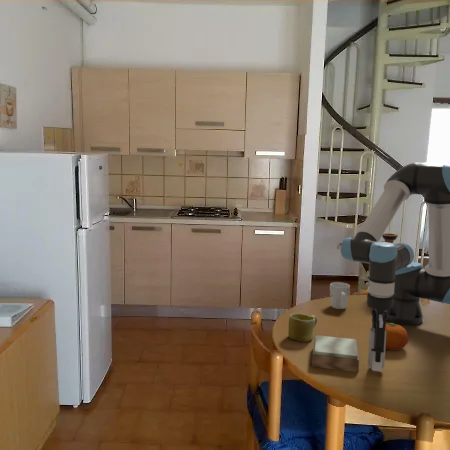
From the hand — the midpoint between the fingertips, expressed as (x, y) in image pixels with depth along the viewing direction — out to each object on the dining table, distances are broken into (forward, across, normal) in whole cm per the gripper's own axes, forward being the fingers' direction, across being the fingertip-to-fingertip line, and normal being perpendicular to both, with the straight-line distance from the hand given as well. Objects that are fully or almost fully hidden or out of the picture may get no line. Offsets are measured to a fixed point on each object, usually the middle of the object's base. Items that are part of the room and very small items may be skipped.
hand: (375, 366), depth 139 cm
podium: (+2, -5, -12) cm, 13 cm away
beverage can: (+1, 0, 0) cm, 1 cm away
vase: (+3, -79, +11) cm, 79 cm away
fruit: (+2, -20, +7) cm, 21 cm away
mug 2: (+2, -57, -10) cm, 58 cm away
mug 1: (+2, -21, -23) cm, 31 cm away
